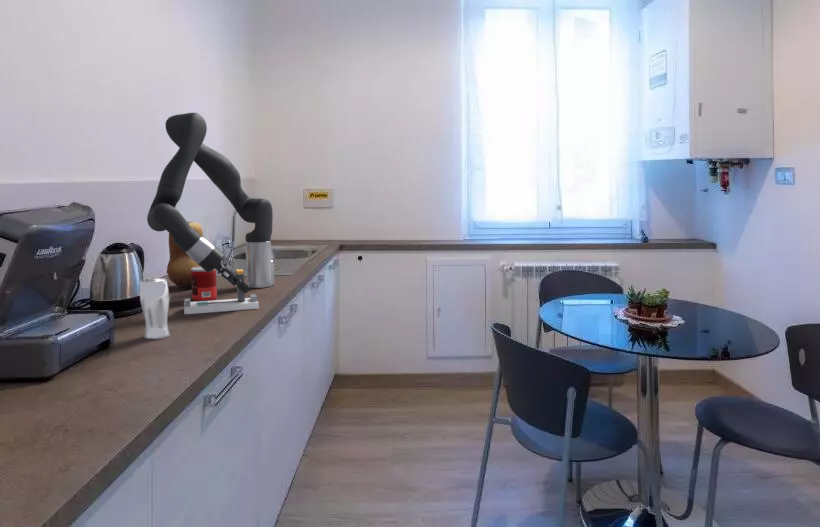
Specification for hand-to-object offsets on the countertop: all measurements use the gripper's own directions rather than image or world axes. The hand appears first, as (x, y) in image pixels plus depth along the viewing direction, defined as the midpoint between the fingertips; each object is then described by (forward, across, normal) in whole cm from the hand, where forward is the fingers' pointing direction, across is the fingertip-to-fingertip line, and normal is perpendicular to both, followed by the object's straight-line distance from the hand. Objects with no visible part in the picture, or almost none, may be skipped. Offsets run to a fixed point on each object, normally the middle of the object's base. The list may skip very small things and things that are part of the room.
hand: (246, 289), depth 185 cm
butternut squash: (-9, +42, +17) cm, 46 cm away
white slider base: (-2, 0, +10) cm, 10 cm away
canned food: (-5, +16, +13) cm, 21 cm away
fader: (+1, 0, +4) cm, 4 cm away
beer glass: (-14, -28, +22) cm, 38 cm away
